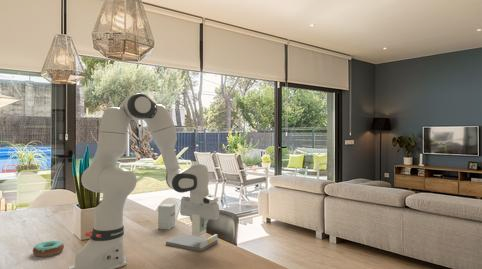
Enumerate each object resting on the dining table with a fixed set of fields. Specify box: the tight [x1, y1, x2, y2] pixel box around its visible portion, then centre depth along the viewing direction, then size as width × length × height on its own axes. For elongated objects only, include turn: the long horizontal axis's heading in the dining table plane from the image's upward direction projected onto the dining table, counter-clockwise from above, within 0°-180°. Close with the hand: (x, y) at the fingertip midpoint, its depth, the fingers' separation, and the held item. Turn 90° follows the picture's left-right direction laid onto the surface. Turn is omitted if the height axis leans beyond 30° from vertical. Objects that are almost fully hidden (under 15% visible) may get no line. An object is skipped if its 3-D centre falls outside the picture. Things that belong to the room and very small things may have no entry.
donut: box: [32, 240, 65, 258], centre depth 148 cm, size 12×12×4 cm
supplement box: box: [157, 203, 176, 230], centre depth 188 cm, size 7×7×13 cm
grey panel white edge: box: [165, 233, 218, 252], centre depth 162 cm, size 14×20×4 cm
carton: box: [191, 214, 207, 237], centre depth 160 cm, size 6×4×10 cm
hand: (199, 226), depth 160 cm, fingers closed on carton, 4 cm apart
